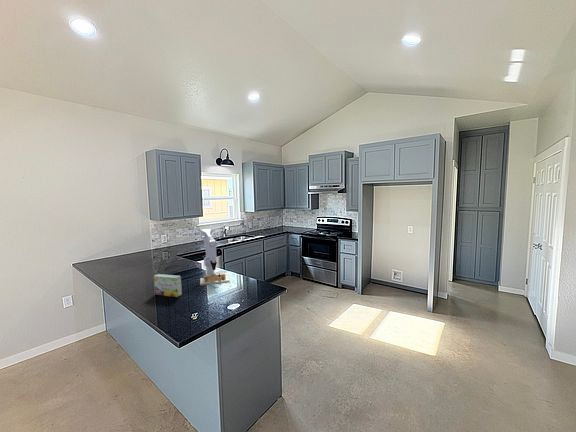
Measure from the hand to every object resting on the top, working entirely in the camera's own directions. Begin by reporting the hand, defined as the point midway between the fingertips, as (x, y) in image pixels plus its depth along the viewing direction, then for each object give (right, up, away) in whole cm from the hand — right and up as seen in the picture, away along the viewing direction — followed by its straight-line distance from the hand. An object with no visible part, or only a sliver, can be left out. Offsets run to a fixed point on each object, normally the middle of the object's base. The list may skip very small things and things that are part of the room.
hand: (213, 268), depth 234 cm
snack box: (-25, -13, -34) cm, 44 cm away
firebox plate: (+2, -10, -4) cm, 11 cm away
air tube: (+2, -8, -4) cm, 9 cm away
